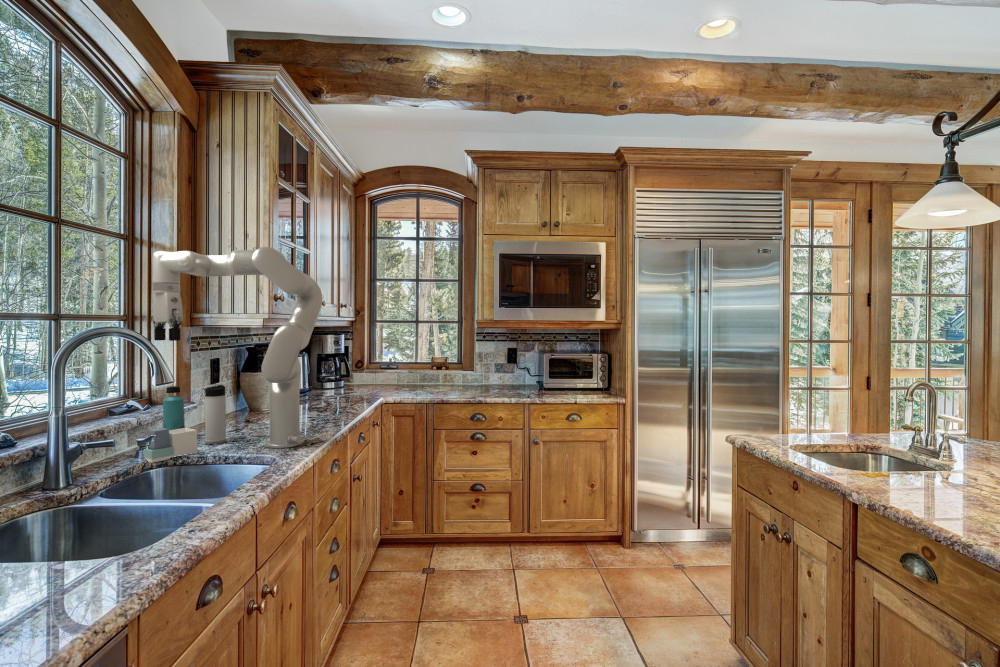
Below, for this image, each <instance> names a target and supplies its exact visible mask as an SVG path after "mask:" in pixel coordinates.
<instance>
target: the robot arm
mask: <svg viewBox="0 0 1000 667" xmlns="http://www.w3.org/2000/svg"><path fill="white" fill-rule="evenodd" d="M181 274H188V275H192V276H196V277H230V276H231V277H233V276H235V277H237V276H265V277H266V278H267V279H268V280H269V281H270V282H272V283H273V284H274V285H275V286H276V287H278V288H279V289H280V290H281V291H283V292H284V293H285V294H288V295H290V296H293V297H296V303H295V304H294V307H293V308H292V311H291V313H290V316H289V317H288V321H287V323H285V324H282V325H281V326H279V327H277V329H275V332H274V333H273V336H272V337H271V340H270V343H269V345H268V348H267V350H266V353H265V355H264V358H263V361H262V363H261V368H260V369H261V374H262V376H263V378H264V379H265V380H266V381H268V382H269V383H270V384H269V439H268V440H267V441H264V446H265V447H266V448H269V449H286V448H293V447H297V446H301V445H303V444H304V443H305V439H306V438H305V435H302V431H301V429H300V426H301V425H300V423H301V422H300V420H301V419H300V417H301V415H300V413H301V412H300V410H301V409H300V407H301V406H300V403H301V402H300V399H301V398H300V395H301V394H300V386H301V375H302V373H301V372H302V367H301V363H300V360H299V358H298V356H299V355H300V352H301V351H302V350H304V349H305V348H306V347H307V346H308V345H309V343H310V339H311V338H312V337H311V336H312V333H313V330H314V328H315V326H316V324H317V320H318V319H319V315H320V312H321V309H322V305H323V293H322V289H321V287H320V286H319V284H318V283H317V281H316V280H314V278H312V276H310V275H309V274H307V273H304V272H302V271H301V270H299V269H298V268H296V267H295V266H294V265H293V264H291V263H290V262H289V261H288V260H287V259H286V257H285V255H284V254H283V253H282V252H280V250H277V249H275V248H273V247H271V246H262V247H259V248H257V249H254V250H253V249H251V250H250V249H248V250H247V249H235V250H232V251H231V252H230V253H227V254H221V255H220V254H218V255H217V254H213V255H211V254H206V255H205V254H200V253H197V252H195V251H191V250H178V251H167V250H161V251H160V250H159V251H155V252H153V254H152V294H154V297H153V312H152V314H153V315H152V323H153V330H154V331H153V339H154V341H165V340H166V330H167V329H166V328H165V326H166V323H167V324H168V325H169V328H168V341H172V342H173V341H181V328H182V325H181V324H182V323H183V319H184V318H183V304H182V297H181Z"/></svg>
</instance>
